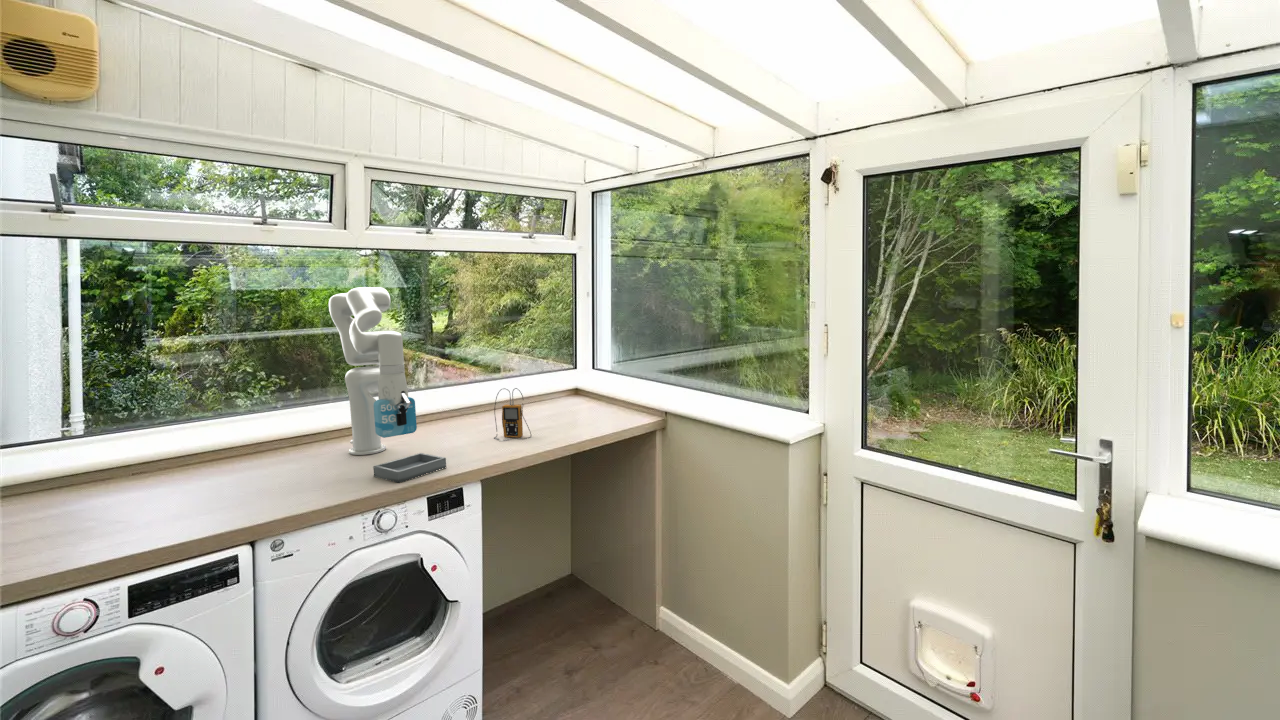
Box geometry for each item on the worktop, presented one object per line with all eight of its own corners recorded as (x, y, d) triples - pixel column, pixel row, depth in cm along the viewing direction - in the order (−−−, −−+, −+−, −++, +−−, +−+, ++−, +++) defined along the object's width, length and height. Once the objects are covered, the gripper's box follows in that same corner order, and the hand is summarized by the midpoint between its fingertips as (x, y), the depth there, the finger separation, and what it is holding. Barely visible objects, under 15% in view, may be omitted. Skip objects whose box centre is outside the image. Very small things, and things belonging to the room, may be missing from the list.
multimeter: (487, 442, 233) (484, 391, 230) (497, 435, 242) (495, 387, 240) (523, 442, 230) (520, 392, 228) (532, 436, 240) (529, 387, 238)
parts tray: (374, 476, 191) (373, 466, 190) (421, 462, 206) (420, 452, 205) (399, 483, 184) (398, 472, 183) (446, 467, 199) (445, 457, 198)
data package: (380, 438, 191) (377, 402, 190) (375, 436, 194) (372, 400, 193) (417, 432, 199) (414, 397, 197) (412, 430, 202) (409, 395, 201)
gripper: (366, 370, 196) (370, 423, 198) (398, 372, 186) (402, 429, 188) (386, 367, 202) (390, 419, 204) (418, 369, 193) (422, 424, 195)
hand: (396, 423), depth 196 cm, fingers closed on data package, 5 cm apart
